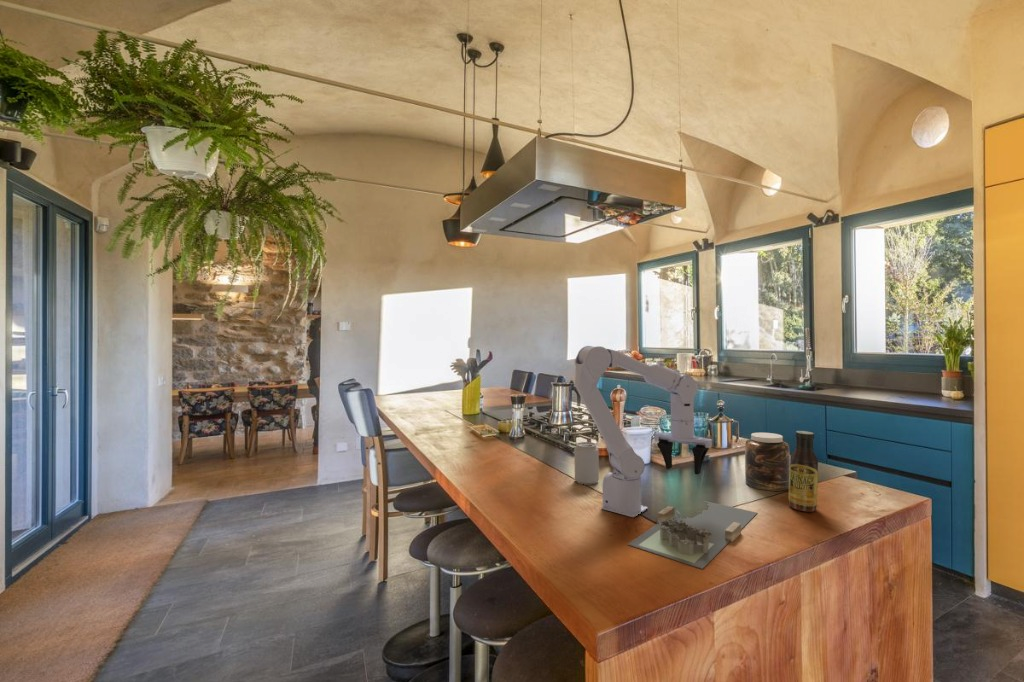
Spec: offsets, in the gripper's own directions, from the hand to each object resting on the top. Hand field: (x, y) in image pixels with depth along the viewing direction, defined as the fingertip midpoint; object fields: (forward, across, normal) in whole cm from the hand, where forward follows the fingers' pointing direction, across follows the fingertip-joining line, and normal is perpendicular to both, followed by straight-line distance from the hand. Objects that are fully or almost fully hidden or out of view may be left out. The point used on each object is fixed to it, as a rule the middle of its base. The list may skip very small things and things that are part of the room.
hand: (682, 470), depth 121 cm
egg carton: (+9, -9, +22) cm, 26 cm away
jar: (+10, -12, -33) cm, 36 cm away
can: (+10, +31, -1) cm, 32 cm away
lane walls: (+9, -8, +11) cm, 17 cm away
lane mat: (+9, -8, +12) cm, 17 cm away
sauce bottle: (+10, -24, -18) cm, 31 cm away
